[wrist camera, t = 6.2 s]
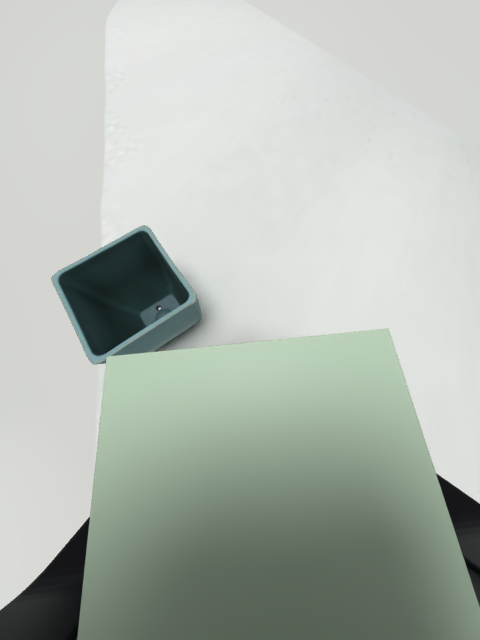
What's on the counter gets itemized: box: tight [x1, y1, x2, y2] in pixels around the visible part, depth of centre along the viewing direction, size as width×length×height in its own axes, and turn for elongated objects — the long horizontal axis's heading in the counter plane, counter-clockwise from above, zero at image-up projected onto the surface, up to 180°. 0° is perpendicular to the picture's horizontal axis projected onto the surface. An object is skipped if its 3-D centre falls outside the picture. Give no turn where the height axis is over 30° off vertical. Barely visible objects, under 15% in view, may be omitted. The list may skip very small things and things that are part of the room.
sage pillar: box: [77, 329, 480, 640], centre depth 9 cm, size 5×5×13 cm
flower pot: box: [51, 225, 201, 364], centre depth 19 cm, size 9×9×9 cm
